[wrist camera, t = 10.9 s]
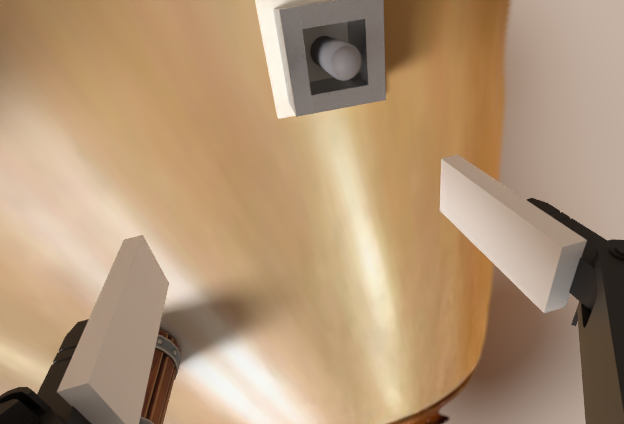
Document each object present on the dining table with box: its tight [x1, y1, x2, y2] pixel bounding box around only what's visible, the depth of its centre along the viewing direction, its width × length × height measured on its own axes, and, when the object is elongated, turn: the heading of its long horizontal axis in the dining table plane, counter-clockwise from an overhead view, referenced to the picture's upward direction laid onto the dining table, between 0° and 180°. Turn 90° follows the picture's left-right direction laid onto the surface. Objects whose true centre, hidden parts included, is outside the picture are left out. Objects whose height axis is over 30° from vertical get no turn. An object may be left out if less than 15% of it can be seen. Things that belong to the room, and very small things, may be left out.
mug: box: [139, 329, 180, 424], centre depth 40 cm, size 16×11×15 cm
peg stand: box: [255, 0, 361, 119], centre depth 27 cm, size 10×10×9 cm
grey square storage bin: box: [273, 0, 386, 117], centre depth 28 cm, size 7×7×5 cm
